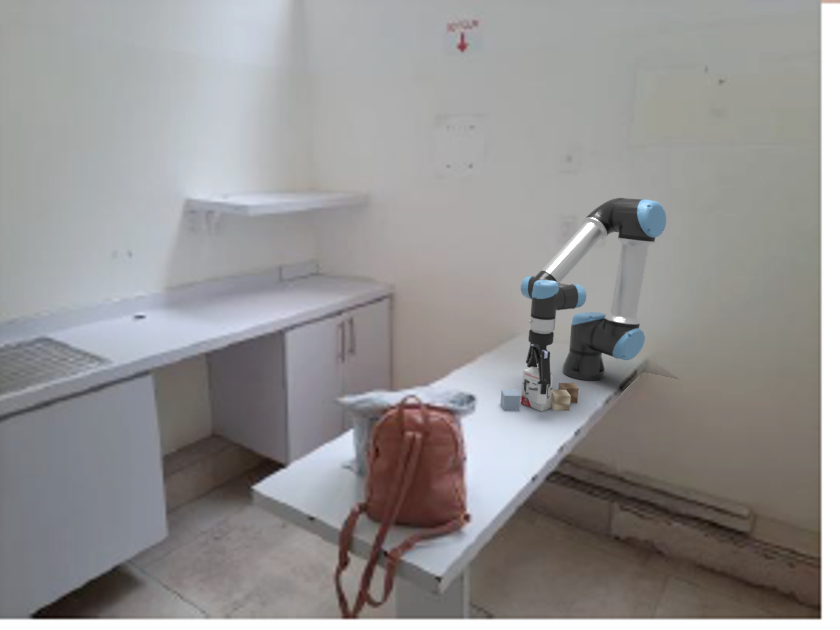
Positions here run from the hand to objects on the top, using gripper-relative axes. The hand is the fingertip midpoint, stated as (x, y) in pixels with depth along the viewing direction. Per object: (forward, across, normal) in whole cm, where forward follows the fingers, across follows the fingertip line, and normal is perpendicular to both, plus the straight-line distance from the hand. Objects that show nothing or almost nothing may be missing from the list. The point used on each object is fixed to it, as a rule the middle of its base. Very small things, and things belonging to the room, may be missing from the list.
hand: (535, 394), depth 183 cm
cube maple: (+4, +1, +8) cm, 9 cm away
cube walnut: (+4, -5, +12) cm, 14 cm away
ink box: (+4, 0, 0) cm, 4 cm away
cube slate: (+4, +1, -8) cm, 9 cm away
